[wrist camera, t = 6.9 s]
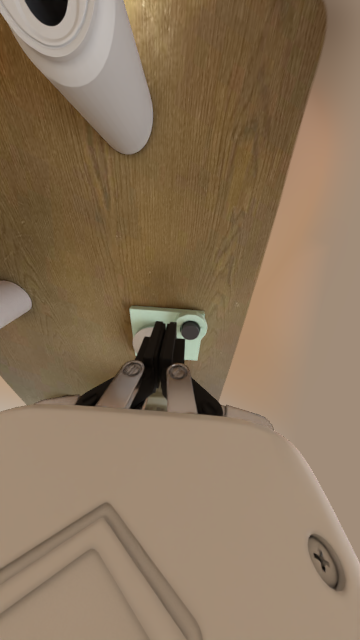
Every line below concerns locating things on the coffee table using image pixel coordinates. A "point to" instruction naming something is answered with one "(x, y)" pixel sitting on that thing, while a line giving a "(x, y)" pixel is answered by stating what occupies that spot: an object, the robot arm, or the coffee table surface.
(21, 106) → the coffee table surface
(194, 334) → the button
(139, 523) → the robot arm
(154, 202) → the coffee table surface
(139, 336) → the plate
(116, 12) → the beverage can
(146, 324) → the scale
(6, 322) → the coffee cup
